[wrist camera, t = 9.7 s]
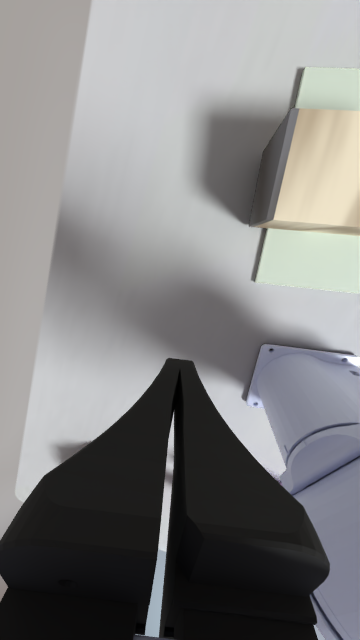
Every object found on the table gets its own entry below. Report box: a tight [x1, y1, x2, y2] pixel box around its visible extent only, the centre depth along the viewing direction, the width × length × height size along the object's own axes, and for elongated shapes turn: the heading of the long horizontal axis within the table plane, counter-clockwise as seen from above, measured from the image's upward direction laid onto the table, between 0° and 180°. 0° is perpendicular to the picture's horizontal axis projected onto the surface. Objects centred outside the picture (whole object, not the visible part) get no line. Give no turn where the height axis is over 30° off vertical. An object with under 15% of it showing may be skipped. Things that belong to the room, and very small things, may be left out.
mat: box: [255, 67, 360, 294], centre depth 15 cm, size 10×14×1 cm
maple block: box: [249, 108, 360, 236], centre depth 13 cm, size 5×5×9 cm
